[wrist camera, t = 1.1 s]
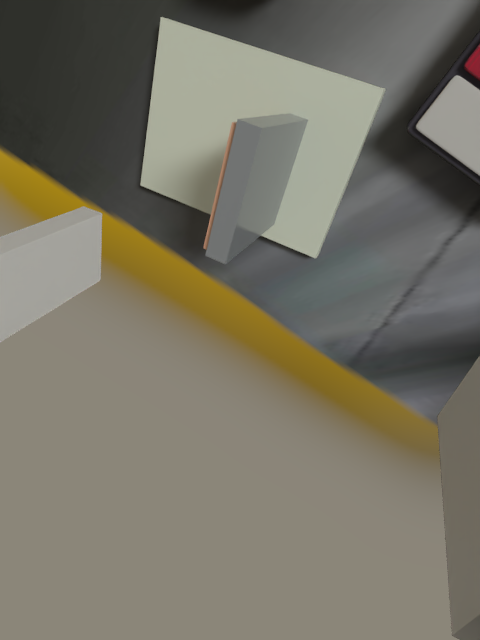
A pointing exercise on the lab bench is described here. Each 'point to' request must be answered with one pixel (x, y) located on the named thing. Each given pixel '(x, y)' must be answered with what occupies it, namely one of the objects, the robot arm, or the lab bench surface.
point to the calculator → (454, 115)
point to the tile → (252, 181)
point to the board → (245, 102)
